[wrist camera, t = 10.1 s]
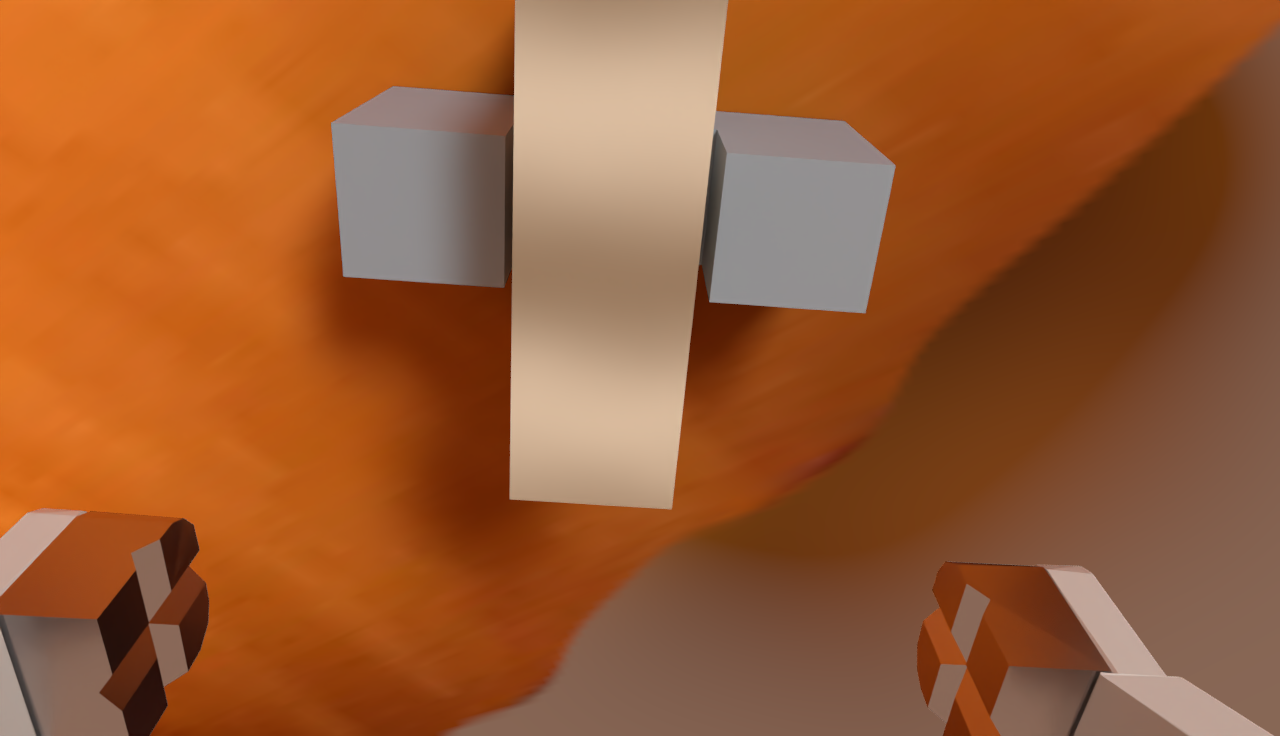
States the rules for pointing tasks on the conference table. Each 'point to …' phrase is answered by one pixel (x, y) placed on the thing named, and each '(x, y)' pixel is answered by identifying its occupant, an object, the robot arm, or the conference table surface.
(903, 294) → the conference table surface
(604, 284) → the wooden notched block
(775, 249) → the grey notched block
